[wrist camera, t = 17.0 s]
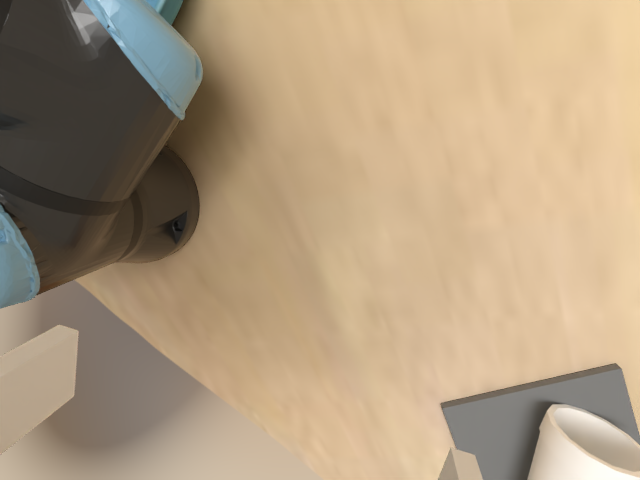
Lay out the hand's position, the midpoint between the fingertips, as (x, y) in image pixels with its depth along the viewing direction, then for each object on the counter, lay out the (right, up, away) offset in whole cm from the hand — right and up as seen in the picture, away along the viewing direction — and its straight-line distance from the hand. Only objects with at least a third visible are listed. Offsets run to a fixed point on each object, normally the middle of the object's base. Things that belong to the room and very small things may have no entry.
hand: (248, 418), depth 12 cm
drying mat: (+30, -19, +33) cm, 48 cm away
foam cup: (+28, -27, +29) cm, 49 cm away
